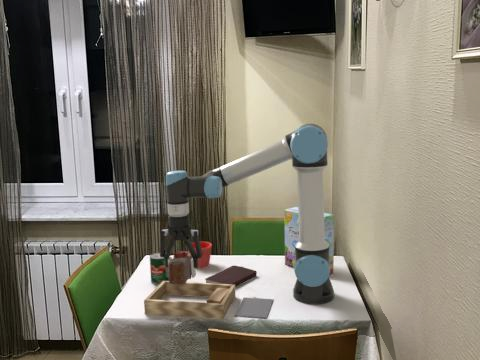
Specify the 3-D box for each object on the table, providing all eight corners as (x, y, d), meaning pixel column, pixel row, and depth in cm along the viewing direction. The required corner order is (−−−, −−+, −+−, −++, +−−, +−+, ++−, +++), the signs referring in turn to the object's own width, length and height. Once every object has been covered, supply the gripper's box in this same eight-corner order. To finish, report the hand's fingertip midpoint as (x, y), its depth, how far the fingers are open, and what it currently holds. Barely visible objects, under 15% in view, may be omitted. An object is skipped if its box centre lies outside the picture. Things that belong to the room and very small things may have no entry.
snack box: (283, 266, 228) (282, 209, 224) (296, 261, 234) (296, 206, 230) (321, 278, 212) (322, 217, 208) (334, 272, 218) (335, 213, 214)
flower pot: (198, 271, 223) (197, 249, 222) (183, 265, 231) (182, 244, 230) (217, 265, 230) (216, 244, 229) (202, 260, 238) (201, 240, 237)
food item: (176, 271, 193) (174, 246, 192) (197, 271, 192) (195, 246, 191) (167, 285, 180) (165, 258, 178) (189, 285, 179) (187, 257, 177)
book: (257, 277, 216) (257, 270, 215) (229, 291, 200) (229, 283, 200) (233, 272, 223) (232, 264, 223) (204, 285, 208) (204, 277, 207)
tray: (235, 297, 194) (235, 284, 193) (223, 319, 175) (223, 305, 174) (163, 293, 199) (163, 280, 199) (144, 313, 181) (144, 300, 180)
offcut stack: (231, 299, 192) (230, 287, 191) (221, 316, 177) (221, 303, 177) (215, 298, 193) (214, 286, 192) (204, 315, 179) (203, 302, 178)
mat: (272, 300, 190) (272, 299, 190) (266, 318, 175) (266, 317, 175) (243, 298, 192) (243, 297, 192) (234, 316, 177) (234, 315, 177)
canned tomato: (169, 276, 217) (168, 251, 215) (171, 283, 210) (170, 257, 208) (150, 278, 215) (148, 253, 214) (151, 285, 208) (150, 259, 206)
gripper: (147, 216, 181) (151, 278, 185) (204, 217, 177) (207, 280, 180) (154, 211, 188) (159, 271, 192) (209, 212, 184) (212, 273, 188)
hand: (182, 275), depth 186 cm, fingers closed on food item, 8 cm apart
